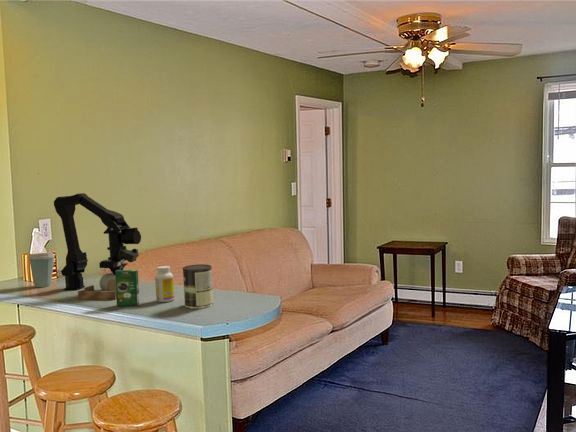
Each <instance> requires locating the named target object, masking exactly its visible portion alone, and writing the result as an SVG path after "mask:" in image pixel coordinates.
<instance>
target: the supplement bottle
mask: <svg viewBox="0 0 576 432" xmlns="http://www.w3.org/2000/svg"><path fill="white" fill-rule="evenodd" d="M156 270H157V273H156V274H155V276H154V278H155V279H154V280H155V281H154V282H155V296H156V301H157V303H170V302H173V301H174V300H175V288H174V287H175V286H174V285H175V283H174V275H173V273H172V272H171V271H170V270H171V267H170V266H169V265H163V266H157V267H156Z"/></svg>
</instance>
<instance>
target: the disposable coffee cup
mask: <svg viewBox="0 0 576 432" xmlns="http://www.w3.org/2000/svg"><path fill="white" fill-rule="evenodd" d="M55 257H56V256H55V254H54V252H37V253H30V254H29V256H28V260H29V265H30V269H31V275H32V279H33V285H34V287H35V288H47V286H48V287H50V286H51V284H52V281H53V280H52V279H53V272H54V270H53V269H54V264H55V263H54V262H55Z"/></svg>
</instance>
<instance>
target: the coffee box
mask: <svg viewBox="0 0 576 432" xmlns="http://www.w3.org/2000/svg"><path fill="white" fill-rule="evenodd" d="M115 277H116V306H117V307H124V306H125V307H129V306H132V307H134V306H137V307H138V306H139V304H140V294H139V293H140V291H139V287H140V286H139V270H138V269H123V270H116V271H115Z"/></svg>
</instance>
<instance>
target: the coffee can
mask: <svg viewBox="0 0 576 432" xmlns="http://www.w3.org/2000/svg"><path fill="white" fill-rule="evenodd" d="M182 275H183V277H182V278H183V279H182V280H183V293H184V294H183V295H184V297H183V298H184V307H185V308H187V309H189V310H190V309H191V310H198V309H206V308H210V307H212V306H214V300H213V299H214V298H213V297H214V296H213V276H212V275H213V274H212V265H210V264H205V263H203V264H200V263H199V264H189V265H185V266H183V267H182Z"/></svg>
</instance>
